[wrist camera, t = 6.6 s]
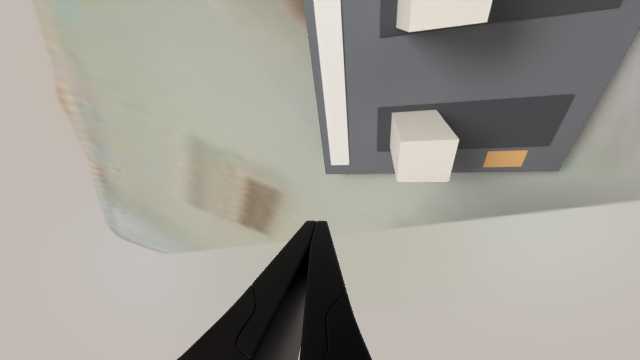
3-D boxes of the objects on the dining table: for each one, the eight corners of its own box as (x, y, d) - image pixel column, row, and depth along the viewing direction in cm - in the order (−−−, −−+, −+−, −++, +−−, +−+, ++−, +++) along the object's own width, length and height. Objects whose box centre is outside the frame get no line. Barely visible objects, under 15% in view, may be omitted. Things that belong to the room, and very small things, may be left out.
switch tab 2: (436, 109, 16) (459, 139, 12) (430, 145, 18) (448, 181, 14) (392, 112, 17) (400, 141, 13) (389, 146, 18) (396, 182, 14)
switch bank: (703, -165, 10) (773, -202, 8) (542, 157, 19) (559, 171, 17) (301, -71, 13) (292, -84, 12) (328, 162, 22) (325, 174, 21)
